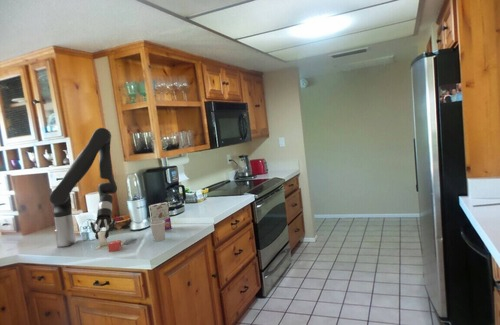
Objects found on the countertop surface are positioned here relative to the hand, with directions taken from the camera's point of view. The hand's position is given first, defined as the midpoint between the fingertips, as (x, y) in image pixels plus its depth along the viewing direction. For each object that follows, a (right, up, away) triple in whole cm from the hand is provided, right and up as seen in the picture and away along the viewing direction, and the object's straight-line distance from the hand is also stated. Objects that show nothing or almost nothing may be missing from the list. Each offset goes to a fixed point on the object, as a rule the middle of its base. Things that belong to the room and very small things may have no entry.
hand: (101, 237), depth 181 cm
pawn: (0, -4, +1) cm, 5 cm away
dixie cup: (+29, -2, +6) cm, 30 cm away
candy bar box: (+25, -1, +26) cm, 37 cm away
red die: (+10, -5, -8) cm, 14 cm away
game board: (+7, -5, +3) cm, 9 cm away
